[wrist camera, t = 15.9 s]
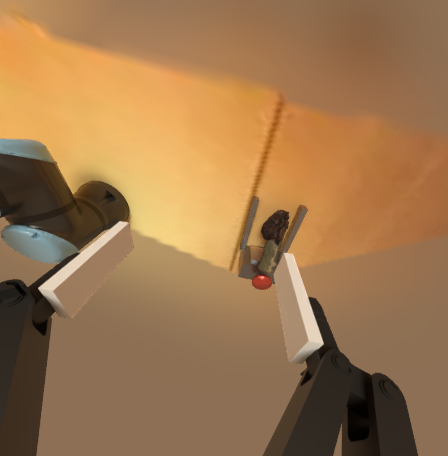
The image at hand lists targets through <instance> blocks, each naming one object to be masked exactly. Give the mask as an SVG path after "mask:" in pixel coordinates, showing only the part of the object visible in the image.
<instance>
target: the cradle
mask: <svg viewBox="0 0 448 456" xmlns="http://www.w3.org/2000/svg"><path fill="white" fill-rule="evenodd" d="M258 202H259V198H258V197H256V196H253V198H252V202H251V206H250V209H249V213H248V217H247V221H246V224H245V228H244V232H243V235H242V239H241V243H240V249H242V250H241V253H240V257H239V275H238V276H239V277H242V278H247V279H252V285H253V286H254V287H255V288H257V289H261V290H264V289H268V288H269V287H271V285H272V283H273V284H275V281H274V275H273V274H274V273H267V272H263V271H261V270H259V269H258V265H259V262H260V259H261V257H262V254H263V250H264V248H262V247H256V246H246V242H247V239H248V236H249V232H250V229H251V226H252V222H253V219H254V215H255V212H256V209H257V205H258ZM307 211H308V209H307V208H306V206H303V205H300V206H299V208H298V210H297V212H296V215H295V217H294V219H293V221H292V223H291V226H290V228H289V230H288V232H287V235H286V237H285V239H284V241H283V243H282V246H281V248H280V252H279V255H278V259H277V263H276V267H275V270H276V268H277V266H278V264H279V262H280V260H281V258H282V256H283V253H287V251H288V249H289V247H290V245H291V243H292V241H293V239H294V237H295V235H296V233H297V231H298V229H299V227H300V225H301V223H302V221H303V219H304V217H305V215H306V213H307ZM274 272H275V271H274Z"/></svg>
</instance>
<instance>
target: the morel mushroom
mask: <svg viewBox="0 0 448 456" xmlns="http://www.w3.org/2000/svg"><path fill="white" fill-rule="evenodd" d="M288 219H289V212H286V211H284V210H278V211H277V212H275V213H274V214H273V215H272V216H270V217H269V218H268V220H267V221H266V222H265V223H264V224H263V227H262V230H261V233H262V235H263V238H264V239H265V240H267V242H266V244H265V247H264V250H263V254H262V257H261V259H260V262H259V265H258V269H259V270H261V271H263V272H267V273H274V271H275V267H276V263H277V259H278V255H279V252H280V248H281V244H282V241H283V237H284V234H285V232H286V229H288V224H289V222H288Z"/></svg>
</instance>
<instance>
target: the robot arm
mask: <svg viewBox="0 0 448 456" xmlns="http://www.w3.org/2000/svg"><path fill="white" fill-rule="evenodd" d="M128 216H129V207H128V204H127V202H126V200H125V198H124V197H123V196H122V194H121V193H120V192H119V191H118V190H116V189H115V188H114V187H112V186H111V185H109V184H107V183H104V182H100V181H91V182H88V183H86V184H84V185H82V186H81V187H80V188H79V189H78V190H77V192H76V193H75V194H74V195H73V194H72V192H71V190H70V189H69V187H68V185H67V183H66V181H65V179H64V177H63V175H62V174H61V172H60V170H59V168H58V166H57V162H56V161H54V159H53V157H52V156H51V154H50V152H49V151H48V149H47V148H46V146H45V145H43V144H42V143H40V142H38V141H36V140H28V139H0V218H1V217H5V218H6V220H7V221H8V222H9V223H10V225H7V226H5V227H4V229H3V230H2V231H1V237H2V239H3V240H4V241H5V242H6V243H7V244H8V245H9V246H10V247H11V248H13V249H14V250H15V251H17V252H19V253H21V254H22V255H25V256H26V257H29V258H31V259H34V260H36V261H40V262H44V263H52V264H53V263H59V264H57V265H56V266H55V267H54V268H53V269H51V270H50V271H48V272H47V273H46V274H44V275H43V276H42V277H41V278H39V279H38V280H37V281H36V282H34V283H33V284H32V285H30V286H29V287H27V286H26V285H25V284H24V282H23V281H21V280H17V279H13V280H7V281H4V282H1V283H0V456H36V453H37V445H38V436H39V427H40V418H41V410H42V401H43V392H44V384H45V375H46V367H47V358H48V349H49V340H50V332H51V323H52V318H51V315H52V314H53V313H54V312H56V313H57V314H58V316H59V317H64V318H68V319H72V318H73V317H74V316H75V315H76V314H77V313H78V311H79V310H80V309H81V308H82V307H83V306H84V305H85V303H86V302H87V301H88V300H89V299H90V297H91V296H92V295H93V294H94V293H95V292H96V291H97V290H98V288H99V287H100V286H101V285H102V284H103V283H104V281H105V280H106V279H107V278H108V277H109V276H110V274H111V273H112V272H113V271H114V270H115V269H116V268H117V266H118V265H119V264H120V263H121V262H122V261H123V259H124V258H125V257H126V256H127V255H128V253H129V252H130V251H131V250H132V249H133V248H134V247H133V241H132V236H131V231H130V226H129V223H127V222H124V221H126V220H127V218H128ZM110 228H111V229H110ZM107 229H110V230H109V231H107V232H106V233H105V234H104V235H102V236H101V237H100V238H99V239H97V240H96V241H95V242H94V243H93V244H92V245H90V246H89V247H88V248H86V249H85V250H84V251H83V252H82V253H78V251H79V250H80V249H82V248H83V247H84V246H85V245H86V244H88V243H89V242H90V241H92V240H93V239H94V238H95V237H97V236H98V235H99V234H100V233H101V232H103V231H104V230H107ZM273 275H274V281H275V286H276V292H277V298H278V304H279V309H280V315H281V321H282V327H283V332H284V338H285V344H286V350H287V355H288V361H289V362H293V363H299V364H302V363H303V362H304V361H305V360H306V363H307V368H306V369H305V370H304V371H303V372H302V373H301V376H302V378H301V380H300V382H299V384H298V386H297V388H296V390H295V392H294V394H293V396H292V398H291V400H290V402H289V404H288V406H287V408H286V410H285V412H284V414H283V416H282V418H281V420H280V422H279V424H278V426H277V428H276V430H275V432H274V434H273V436H272V438H271V440H270V442H269V444H268V446H267V448H266V450H265V453H264V454H263V456H333V454H334V450H335V446H336V443H337V439H338V435H339V431H340V428H341V424H342V456H418V454H417V449H416V444H415V440H414V435H413V431H412V427H411V422H410V418H409V413H408V409H407V405H406V401H405V398H404V396H403V394H402V392H401V391H400V389H399V387H398V386H397V385H396V384H395V383H394V382H393V381H392V380H391V379H389V378H388V377H387V376H386V375H383V374H381V373H375V374H372V375H370V374H368V373H366V372H364V371H363V370H361V369H359V368H357V367H355V366H354V365H352V364H351V363H350V361H349V359H348V358H347V357H346V356H345V355H344V354H342V353H341V352H340V351H339V349H338V347H337V344H336V342H335V339H334V337H333V334H332V332H331V329H330V327H329V324H328V322H327V319H326V317H325V315H324V312H323V309H322V307H321V305H320V304H319V302H318V301H317V300H316V298H312V297H308V296H307V294H306V290H305V288H304V285H303V282H302V279H301V276H300V273H299V270H298V267H297V264H296V261H295V259H294V256H293V254H289V253H283V256H282V258H281V260H280V262H279V264H278V266H277V268H276V270H275V272H274V274H273Z"/></svg>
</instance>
